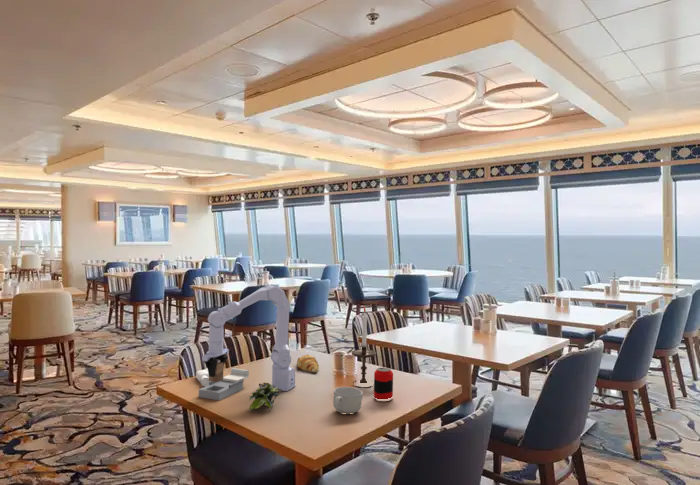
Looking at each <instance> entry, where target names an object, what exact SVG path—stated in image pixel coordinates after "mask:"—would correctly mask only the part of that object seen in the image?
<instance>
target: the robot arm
mask: <svg viewBox="0 0 700 485" xmlns="http://www.w3.org/2000/svg"><path fill="white" fill-rule="evenodd" d="M259 301H270V302H272V304H273V305H274V306H276V321H275V322H276V325H275V326H276V328H275V329H276V330H275V343H274V345H273V348H272V352H271V354H270V359H271V362H272V367H271V368H272V371H271V380H272V381H271V385H272V386H273V385H274V386H275V388H277V387H279V389H281V391H284V392H288V391H290V390H291V389H294V388H296V386H297V385H296V370H295V368H293V367H291V366H290V365H291V363H292V357H291V356H292V355H291V352H290V351H291V349H290V347H289V345H288V342H289V323H290V322H289V321H290V301H289V299H288V298H287V296H286V293H285V290H283V289H282V288H281V287H279V286H275V285H272V284H266V285H265V286H263V287H260V288H258V289H257V290H256V291H254V292H252V293H251V294H249V295H247V296H246V297H244V298H243V299H241V300H239V301H235V300H234V301H228V302H227V303H228V304H226V305H224V306H223V307H221V308H220V307H219V308H217V310H213V311H212V312H210V313H209V315H208V317H207V322H208V323H209V327H208V328H209V330H208V351H206V353H205V354H204V355H202V356H201V360H202V362H203V363H204V364H205V366H206V368H207V369H208V373H209V376H210V377H214V376H215V370H216V365H217V362H218V360H220V362H223V368H224V367H225V363H226V361H227V360H228V354H229V353H230V349H229V348H224V339H225V338H224V333H225V332H224V325H225V324H226V322H228V321H229V320H231V319H233V318H235V317H237V316H238V315H241V313H242V310H243V309H245V308H247V307H248V306H251V305H253V304H255V303H257V302H259Z"/></svg>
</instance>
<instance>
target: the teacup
mask: <svg viewBox="0 0 700 485" xmlns="http://www.w3.org/2000/svg"><path fill="white" fill-rule="evenodd" d="M363 395H364V393H363V391H362V390H361V389H359V388H358V387H351V386H339V387H336V388H333V402H332V403H333V407H334V409H335V410H336V411H337V412H338V413H339V412H340V413H339V414H341V413H346V414H350V413H355V412H356V413H357V412H358V411H360V409H361V406H362V404H363V403H362V401H363ZM356 413H355V414H356Z"/></svg>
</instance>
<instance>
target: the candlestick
mask: <svg viewBox="0 0 700 485" xmlns="http://www.w3.org/2000/svg"><path fill="white" fill-rule="evenodd" d="M363 313H364V314H363V315H362V326H361V327H362V328H361V329H362V333H361V334H362V336H361V340H362V341H361V345H359V347H360V348H361V349H354V350H352V351H351V355H352V356H353V357H357V358H361V359H362V362H361V363H362V364H361V366H360V370H361V372H360V375H361V377H362V378H361V379H359V380H360V383H367V381H366V380H367V379H366V375H367V369H368V367H367V366H366V359H367V358H373V357H376V356H377V351H376V350H372V349H367V348H369V345H367V337H368V336H367V334H368V333H367V332H368V330H367V328H368V326H367V325H368V324H367V322H368V321H367V320H368V316H367V315H366V308H365V306H363ZM353 383H354V381H353Z"/></svg>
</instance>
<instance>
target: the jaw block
mask: <svg viewBox="0 0 700 485" xmlns="http://www.w3.org/2000/svg"><path fill="white" fill-rule="evenodd" d="M223 376H224V367H223V362H220V360H218V362H217V365H216V370H215V376H214V377H210V376H209V381H212V382H219V381H221V380H223Z"/></svg>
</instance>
